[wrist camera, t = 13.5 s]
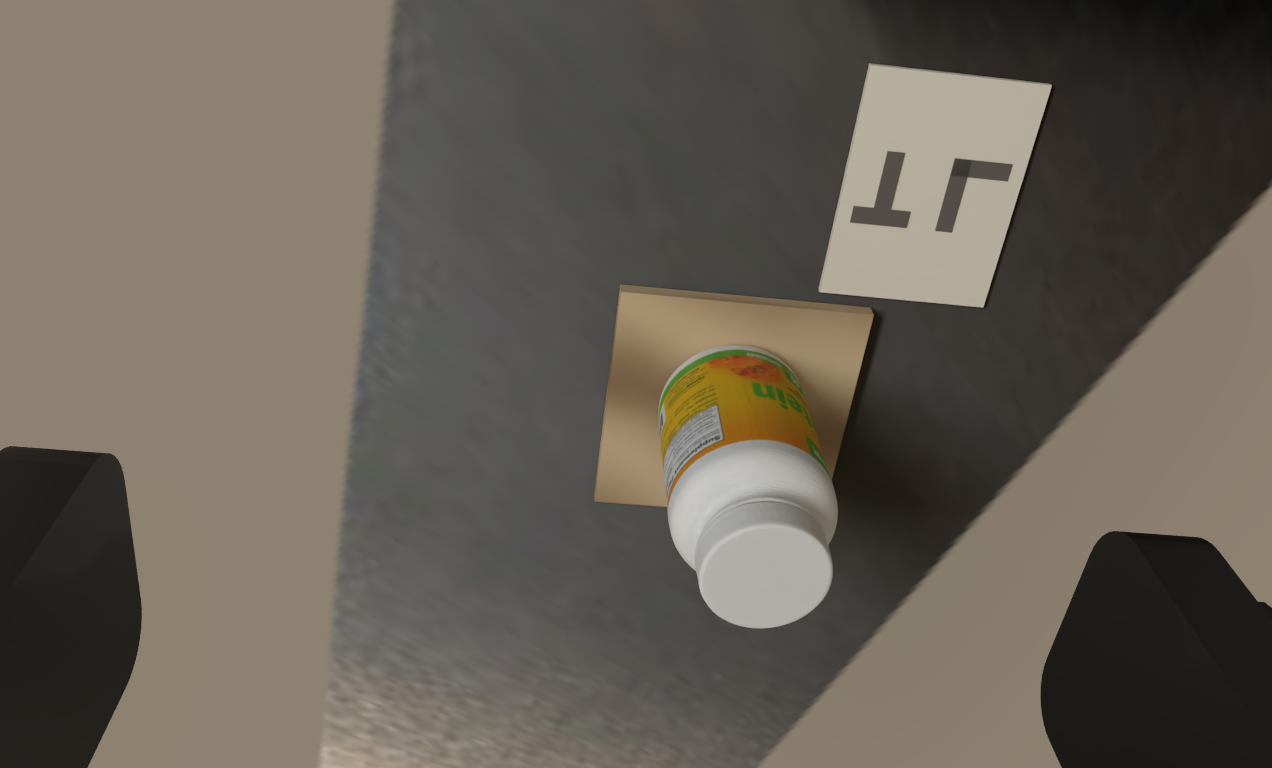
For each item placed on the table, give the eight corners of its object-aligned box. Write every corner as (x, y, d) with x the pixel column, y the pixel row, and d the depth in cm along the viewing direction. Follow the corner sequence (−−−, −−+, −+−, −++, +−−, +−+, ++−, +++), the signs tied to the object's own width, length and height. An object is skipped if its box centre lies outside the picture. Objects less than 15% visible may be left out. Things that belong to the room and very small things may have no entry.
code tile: (869, 63, 35) (870, 65, 35) (1049, 83, 36) (1052, 85, 36) (818, 289, 39) (819, 292, 39) (981, 305, 40) (983, 307, 40)
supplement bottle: (833, 398, 41) (896, 571, 33) (730, 488, 43) (764, 673, 34) (729, 312, 39) (769, 473, 31) (626, 410, 41) (637, 587, 32)
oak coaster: (620, 284, 39) (620, 291, 38) (870, 307, 40) (873, 314, 39) (594, 492, 43) (594, 501, 43) (819, 508, 44) (822, 518, 44)
